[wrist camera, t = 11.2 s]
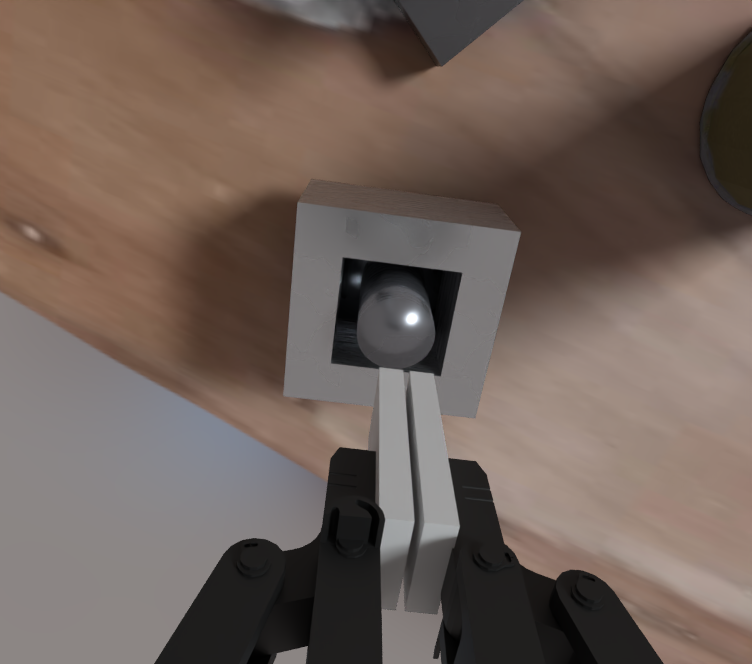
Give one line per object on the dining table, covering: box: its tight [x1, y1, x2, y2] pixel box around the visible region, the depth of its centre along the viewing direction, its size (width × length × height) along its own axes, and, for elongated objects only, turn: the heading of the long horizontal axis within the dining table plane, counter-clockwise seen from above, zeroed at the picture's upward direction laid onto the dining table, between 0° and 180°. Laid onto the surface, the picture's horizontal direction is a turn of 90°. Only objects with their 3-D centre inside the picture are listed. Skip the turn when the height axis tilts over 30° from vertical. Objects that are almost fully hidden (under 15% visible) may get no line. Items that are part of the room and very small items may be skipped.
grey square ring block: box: [283, 179, 521, 418], centre depth 27 cm, size 9×9×5 cm
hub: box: [338, 257, 443, 369], centre depth 27 cm, size 8×8×9 cm
